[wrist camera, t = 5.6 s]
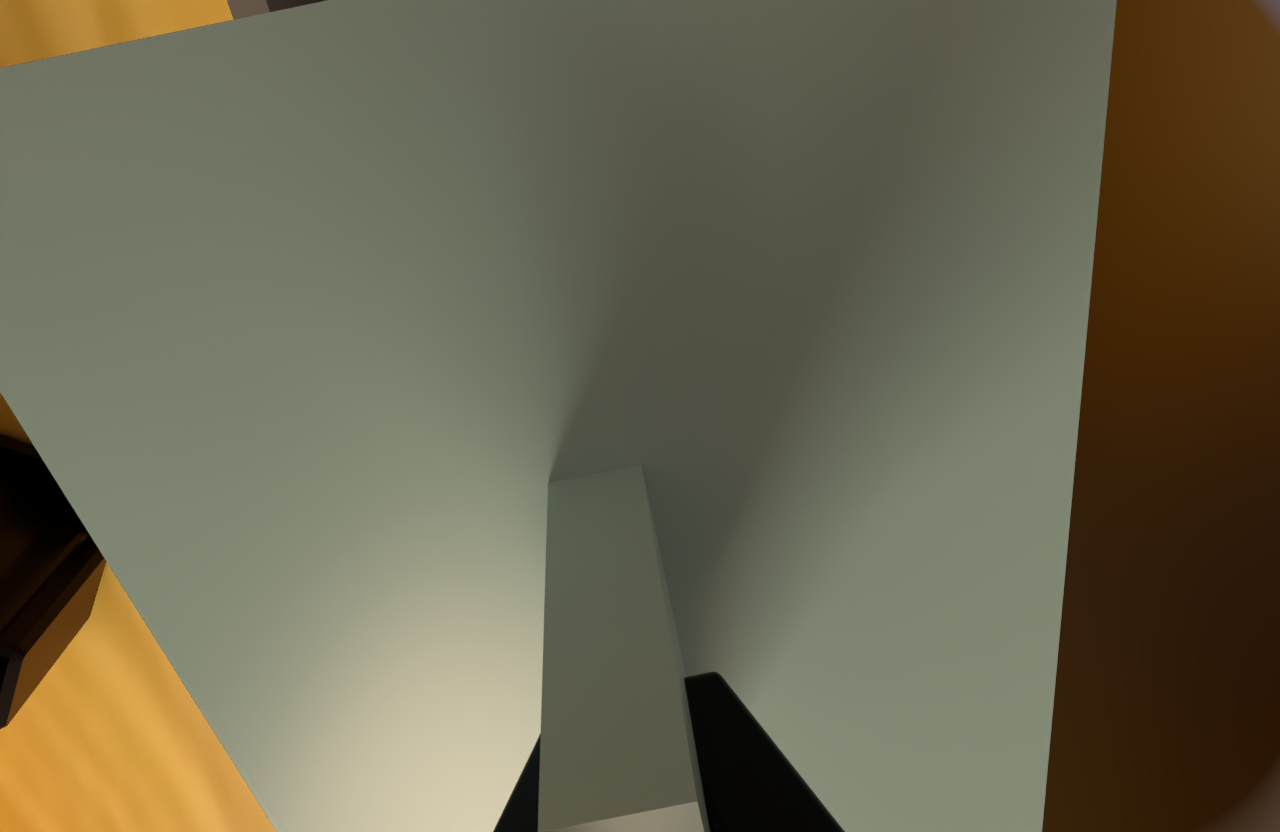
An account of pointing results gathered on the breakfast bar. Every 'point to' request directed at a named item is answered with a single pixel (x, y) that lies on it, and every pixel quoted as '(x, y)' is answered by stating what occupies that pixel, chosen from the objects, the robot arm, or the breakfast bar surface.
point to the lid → (576, 388)
